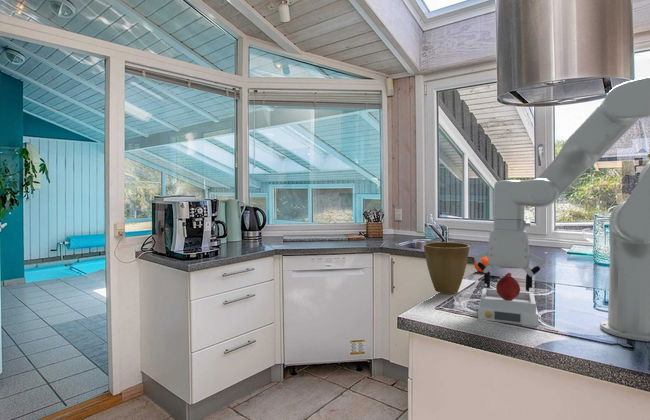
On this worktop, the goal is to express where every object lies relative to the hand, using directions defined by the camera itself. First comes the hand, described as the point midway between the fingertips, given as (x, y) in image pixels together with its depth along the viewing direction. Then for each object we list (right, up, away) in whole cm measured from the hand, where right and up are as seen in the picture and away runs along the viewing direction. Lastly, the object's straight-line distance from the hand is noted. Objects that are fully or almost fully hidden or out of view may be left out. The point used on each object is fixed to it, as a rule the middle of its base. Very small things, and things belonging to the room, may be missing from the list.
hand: (507, 288), depth 107 cm
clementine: (+18, -5, +60) cm, 63 cm away
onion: (0, -4, 0) cm, 4 cm away
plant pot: (-9, -7, +27) cm, 29 cm away
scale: (0, -7, 0) cm, 7 cm away
